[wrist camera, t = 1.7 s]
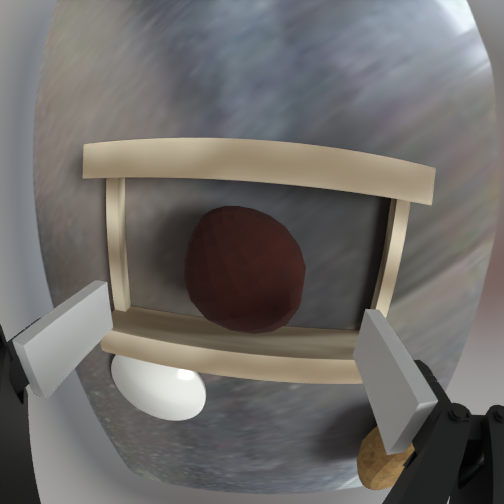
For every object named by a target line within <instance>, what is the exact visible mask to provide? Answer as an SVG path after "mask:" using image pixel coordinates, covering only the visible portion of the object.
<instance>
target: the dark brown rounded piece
mask: <svg viewBox="0 0 504 504" xmlns="http://www.w3.org/2000/svg"><path fill="white" fill-rule="evenodd" d="M305 270H306V267H305V264H304V260H303V257H302V253H301V250H300V247H299V245H298V243H297V242H296V241H295V239H294V238H293V237H292V235H291V234H290V233H289V231H288V230H287V228H286V227H285V226H284V225H282V224H281V223H279V222H278V221H277V220H275V219H274V218H272V217H271V216H269V215H267V214H264V213H262V212H260V211H257V210H255V209H251V208H245V207H240V206H224V207H220V208H217V209H213V210H211V211H209V212H208V213H207V214H206V215H205V216H204V217H203V218H202V219H201V220H200V222H199V223H198V225H197V226H196V228H195V230H194V232H193V235H192V237H191V240H190V242H189V246H188V249H187V254H186V258H185V283H186V286H187V289H188V293H189V296H190V299H191V301H192V302H193V304H194V305H195V306H196V307H197V308H198V309H199V311H200V312H201V313H202V314H203V315H204V317H205V318H206V319H207V320H209V321H211V322H213V323H215V324H217V325H220V326H222V327H224V328H226V329H228V330H231V331H237V332H243V333H250V334H258V333H267V332H273V331H275V330H276V329H278V328H280V327H282V326H284V325H286V324H287V323H288V322H289V320H290V319H291V318H292V316H293V315H294V314H295V312H296V311H297V310H298V308H299V306H300V303H301V298H302V291H303V284H304V277H305Z"/></svg>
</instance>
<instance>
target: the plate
mask: <svg viewBox="0 0 504 504" xmlns="http://www.w3.org/2000/svg"><path fill="white" fill-rule="evenodd" d="M111 372H112V377H113V380H114V382H115V384H116V386H117V388H118V389H119V391H120V392H121V393H122V395H123V396H124V397H125V398H126V399H127V400H128V401H129V402H130V403H132V404H133V405H134V406H136V407H137V408H139V409H140V410H142V411H144V412H146V413H148V414H150V415H152V416H155V417H158V418H161V419H166V420H185V419H189V418H192V417H194V416H196V415H197V414H198V413H199V412H200V411H201V410H202V408H203V407H204V404H205V400H206V394H207V392H206V387H205V383H204V381H203V379H202V377H201V376H200V374H199V373H198V372H196V371H190V370H184V369H179V368H174V367H169V366H164V365H159V364H154V363H150V362H145V361H141V360H137V359H133V358H129V357H125V356H121V355H117V354H116V355H115V357H114V359H113V361H112V365H111Z"/></svg>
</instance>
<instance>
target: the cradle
mask: <svg viewBox="0 0 504 504" xmlns="http://www.w3.org/2000/svg"><path fill="white" fill-rule="evenodd" d="M125 177H164V178H200V179H222V180H239V181H253V182H266V183H278V184H289V185H299V186H308V187H317V188H325V189H333V190H341V191H349V192H356V193H363V194H369V195H376V196H382V197H388V198H391V204H390V211H389V218H388V225H387V231H386V237H385V243H384V248H383V253H382V259H381V264H380V269H379V273H378V278H377V282H376V287H375V291H374V295H373V299H372V303H371V307H370V309H375V310H380V311H381V313H382V314H383V316H384V317H385V319H386V316H387V312H388V309H389V305H390V301H391V298H392V294H393V290H394V286H395V282H396V278H397V273H398V269H399V264H400V260H401V255H402V250H403V245H404V239H405V234H406V228H407V221H408V215H409V208H410V201H411V202H417V203H422V204H427V205H432V197H433V189H434V179H435V168H432V167H429V166H425V165H420V164H416V163H412V162H408V161H403V160H399V159H394V158H389V157H384V156H379V155H374V154H369V153H363V152H357V151H351V150H345V149H338V148H331V147H324V146H316V145H308V144H299V143H289V142H278V141H266V140H250V139H229V138H159V139H138V140H123V141H111V142H101V143H91V144H84V151H83V179H86V178H106V216H107V239H108V254H109V265H110V275H111V284H112V293H113V300H114V307H115V310H114V311H113V312H112V313H111V316H112V323H113V328H112V329H111V330H110V331H109V332H108V333H107V334H106V335H105V336H104V337H103V338H102V339H101V340H100V343H101V347H102V350H103V351H106V352H110V353H113V354H117V355H121V356H125V357H129V358H133V359H137V360H141V361H145V362H150V363H154V364H159V365H164V366H169V367H174V368H179V369H184V370H190V371H196V372H202V373H208V374H215V375H222V376H230V377H238V378H247V379H256V380H267V381H280V382H296V383H325V384H357V383H363V382H362V379H361V376H360V374H359V371H358V368H357V366H356V363H355V360H354V358H353V353H354V349H355V346H356V342H357V339H358V335H359V332H360V330H340V329H320V328H304V327H290V326H282V327H280V328H278V329H276V330H275V331H273V332H267V333H258V334H250V333H243V332H237V331H231V330H228V329H226V328H224V327H222V326H220V325H217V324H215V323H213V322H211V321H209V320H207V319H206V318H204V317H197V316H190V315H183V314H176V313H170V312H163V311H157V310H151V309H145V308H140V307H134V306H131V299H130V290H129V280H128V267H127V252H126V231H125Z"/></svg>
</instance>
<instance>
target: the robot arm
mask: <svg viewBox="0 0 504 504" xmlns="http://www.w3.org/2000/svg"><path fill="white" fill-rule="evenodd" d="M112 328H113V323H112V316H111V310H110V303H109V295H108V287H107V282H104V281H98V280H95V281H94V282H92V283H91V284H89V285H88V286H86V287H85V288H83V289H82V290H80V291H79V292H77V293H76V294H74V295H73V296H72V297H70V298H69V299H67V300H66V301H64V302H63V303H62V304H60V305H59V306H57V307H56V308H54V309H53V310H52V311H50V312H49V313H48V314H46V315H45V316H43V317H42V318H39V319H37V320H36V321H35V322H33V323H32V324H31V326H30V325H29V326H28V327H26V329H24V330H22V331H21V332H20V333H18V334H17V335H16V336H14V337H13V338H12V339H11V340H9V341H8V342H6V339H5V336H4V333H3V330H2V327H1V325H0V504H41V502H40V498H39V494H38V489H37V484H36V479H35V473H34V467H33V461H32V454H31V445H30V434H29V420H28V393H27V390H26V388H25V387H26V386H27V385H28V384H30V386H31V388H32V391H33V393H34V394H35V395H37V396H39V397H41V398H43V399H45V400H47V398H48V397H49V396H50V395H51V394H52V393H53V392H54V390H55V389H56V388H57V387H58V386H59V385H60V384H61V383H62V381H63V380H64V379H65V378H66V377H67V376H68V375H69V374H70V373H71V371H72V370H73V369H74V368H75V367H76V366H77V365H78V364H79V363H80V362H81V361H82V360H83V358H84V357H85V356H86V355H87V354H88V353H89V352H90V351H91V350H92V349H93V348H94V347H95V346H96V345H97V344H98V342H99V341H100V340H101V339H102V338H103V337H104V336H105V335H106V334H107V333H108V332H109V331H110V330H111V329H112ZM353 358H354V360H355V363H356V366H357V368H358V371H359V374H360V376H361V379H362V382H363V385H364V387H365V390H366V393H367V396H368V399H369V402H370V404H371V407H372V410H373V413H374V416H375V419H376V422H377V425H378V428H379V431H380V434H381V437H382V441H383V444H384V447H385V450H386V453H387V455H390V454H396V453H402V452H405V451H406V450H407V448H408V447H409V445H410V444H411V443H412V444H413V446H414V449H415V450H414V451H413V453H412V454H411V455H410V456H409V458H408V459H407V460H406V462H405V463H404V464H403V465H402V466H405V467H404V469H403V470H402V472H401V474H400V476H399V477H398V479H397V481H396V483H395V484H394V486H393V488H392V489H391V491H390V493H389V494H388V496H387V497H386V499H385V500H384V502H383V503H382V504H447V501H448V499H449V496H450V500H449V504H504V406H501V405H493V406H491V407H490V408H489V410H488V411H487V413H486V415H471V413H470V411H469V410H468V409H467V408H466V407H465V406H463V405H461V404H458V403H451V401H450V400H449V398H448V397H447V395H446V393H445V392H444V390H443V389H442V387H441V385H440V384H439V382H437V379H436V378H435V376H433V373H432V372H431V370H430V369H429V367H428V366H427V365H425V364H424V363H423V362H422V361H420V360H413V359H412V357H411V356H410V354H409V353H408V351H407V350H406V348H405V347H404V345H403V344H402V342H401V341H400V339H399V338H398V336H397V335H396V333H395V332H394V330H393V329H392V327H391V326H390V324H389V323H388V321H387V320H386V319H385V317H384V316H383V314H382V313H381V311H380V310H375V309H365V312H364V316H363V320H362V324H361V328H360V332H359V335H358V339H357V342H356V346H355V349H354V353H353Z"/></svg>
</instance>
